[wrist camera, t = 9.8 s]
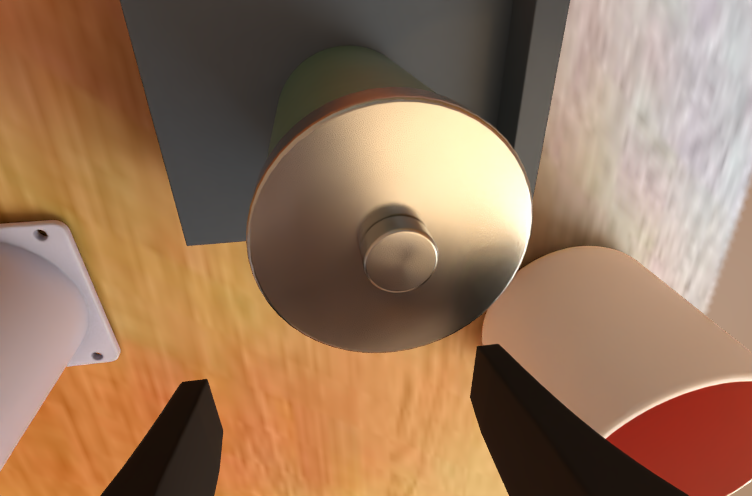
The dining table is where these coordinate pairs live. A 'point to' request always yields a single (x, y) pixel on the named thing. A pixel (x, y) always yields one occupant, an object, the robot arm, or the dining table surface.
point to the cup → (633, 364)
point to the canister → (383, 207)
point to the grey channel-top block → (302, 40)
